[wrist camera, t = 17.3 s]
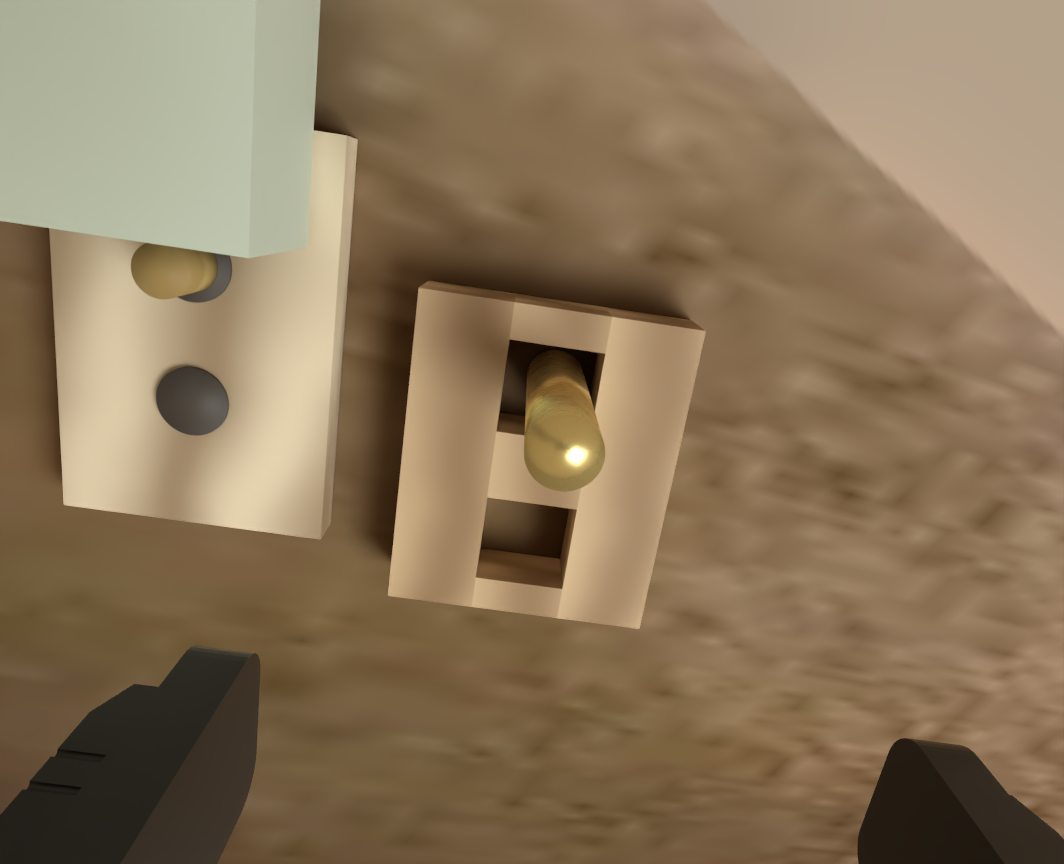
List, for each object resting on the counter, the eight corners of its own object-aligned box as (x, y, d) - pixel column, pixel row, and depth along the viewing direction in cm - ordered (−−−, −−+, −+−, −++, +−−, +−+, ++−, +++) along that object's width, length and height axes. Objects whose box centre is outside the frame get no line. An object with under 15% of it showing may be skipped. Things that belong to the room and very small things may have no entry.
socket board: (399, 564, 30) (387, 595, 28) (429, 280, 27) (418, 287, 24) (631, 596, 31) (639, 628, 28) (690, 319, 27) (705, 331, 25)
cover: (70, 211, 24) (-52, 212, 19) (55, -138, 21) (-95, -245, 16) (307, 247, 25) (248, 258, 19) (325, -91, 22) (261, -182, 16)
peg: (522, 400, 28) (518, 485, 20) (531, 345, 27) (530, 408, 19) (578, 408, 28) (597, 496, 20) (587, 354, 28) (612, 421, 19)
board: (86, 490, 29) (19, 532, 25) (70, 93, 25) (-15, 73, 21) (330, 523, 30) (300, 570, 26) (357, 139, 25) (326, 127, 21)
